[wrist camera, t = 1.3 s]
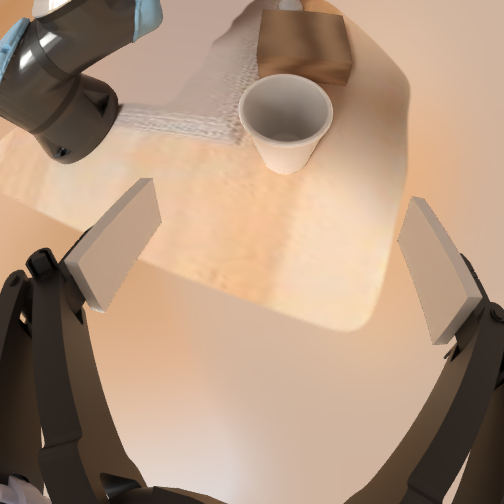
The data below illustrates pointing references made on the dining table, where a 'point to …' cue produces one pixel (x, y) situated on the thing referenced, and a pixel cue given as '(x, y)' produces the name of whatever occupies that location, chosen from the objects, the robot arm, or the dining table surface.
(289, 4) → the rook chess piece
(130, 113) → the dining table surface
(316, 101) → the dixie cup
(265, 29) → the walnut block
